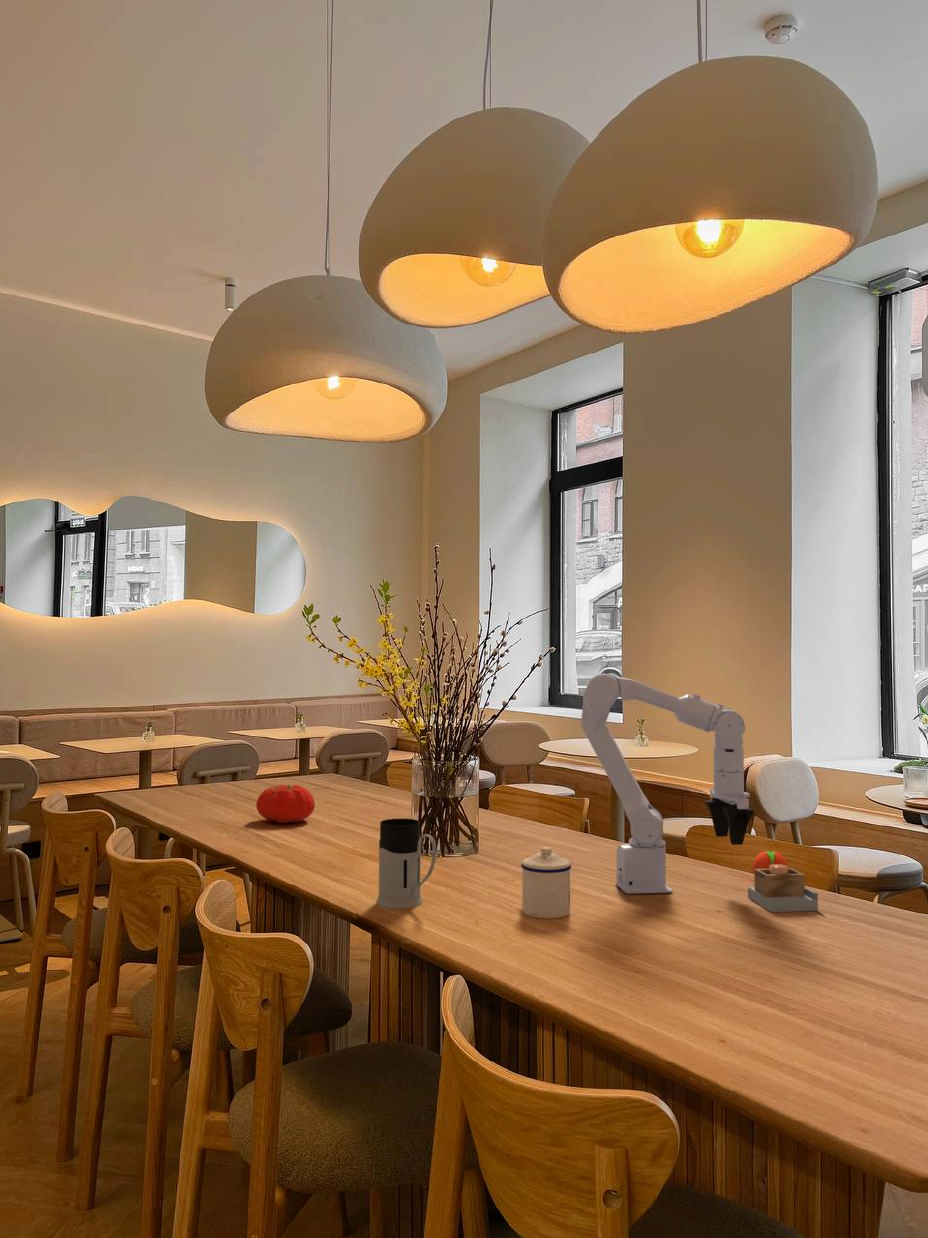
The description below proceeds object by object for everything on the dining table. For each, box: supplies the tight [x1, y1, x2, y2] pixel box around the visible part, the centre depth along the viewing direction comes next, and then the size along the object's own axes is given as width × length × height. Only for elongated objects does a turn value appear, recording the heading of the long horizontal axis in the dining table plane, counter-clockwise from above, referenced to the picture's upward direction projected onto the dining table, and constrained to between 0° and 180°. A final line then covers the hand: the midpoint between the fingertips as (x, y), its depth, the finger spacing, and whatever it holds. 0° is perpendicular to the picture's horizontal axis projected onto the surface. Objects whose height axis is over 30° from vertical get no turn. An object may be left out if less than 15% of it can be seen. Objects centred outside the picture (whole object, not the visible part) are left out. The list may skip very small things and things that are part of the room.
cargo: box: [770, 864, 788, 874], centre depth 172 cm, size 3×3×2 cm
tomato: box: [255, 784, 316, 824], centre depth 254 cm, size 14×16×10 cm
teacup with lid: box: [521, 846, 572, 920], centre depth 167 cm, size 12×9×12 cm
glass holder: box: [375, 818, 437, 910], centre depth 171 cm, size 9×14×15 cm, turn 44°
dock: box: [747, 886, 819, 913], centre depth 172 cm, size 9×10×3 cm
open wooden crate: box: [753, 867, 806, 897], centre depth 172 cm, size 8×5×4 cm, turn 96°
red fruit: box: [752, 849, 789, 874], centre depth 185 cm, size 8×7×7 cm
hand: (729, 840), depth 179 cm, fingers open, 7 cm apart
